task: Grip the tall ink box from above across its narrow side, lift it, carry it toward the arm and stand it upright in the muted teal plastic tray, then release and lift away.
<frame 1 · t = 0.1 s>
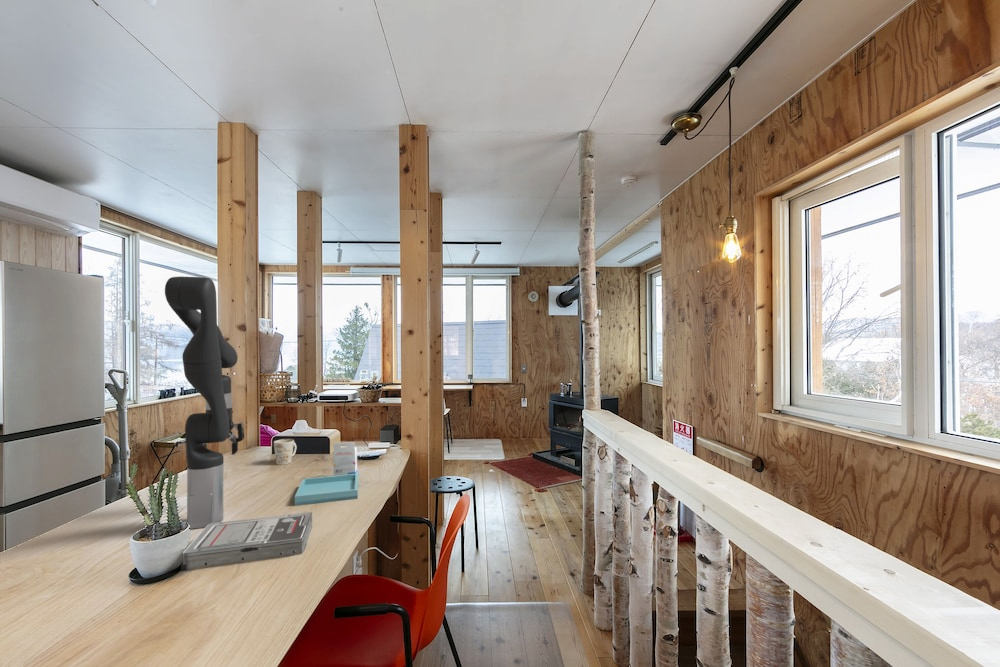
hand: (219, 454, 145), 17 cm above the table, tool pointing down, fingers open, 8 cm apart
hard drive: (253, 548, 117), on the table
ink box: (345, 478, 174), on the table
mug: (286, 462, 200), on the table
tray: (329, 492, 158), on the table
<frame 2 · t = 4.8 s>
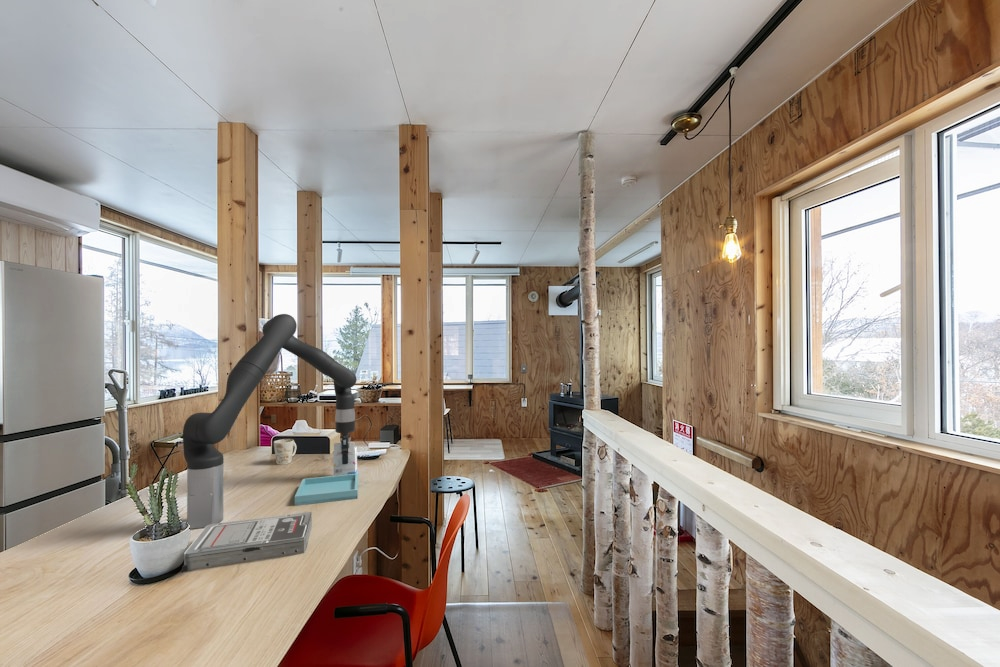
hand: (345, 461, 175), 7 cm above the table, tool pointing down, fingers closed on ink box, 5 cm apart
ink box: (345, 478, 174), on the table, touching gripper
everything else where it was.
when the fingers open (9 cm above the table, at t = 11.2 s): ink box drops 1 cm, resting on tray.
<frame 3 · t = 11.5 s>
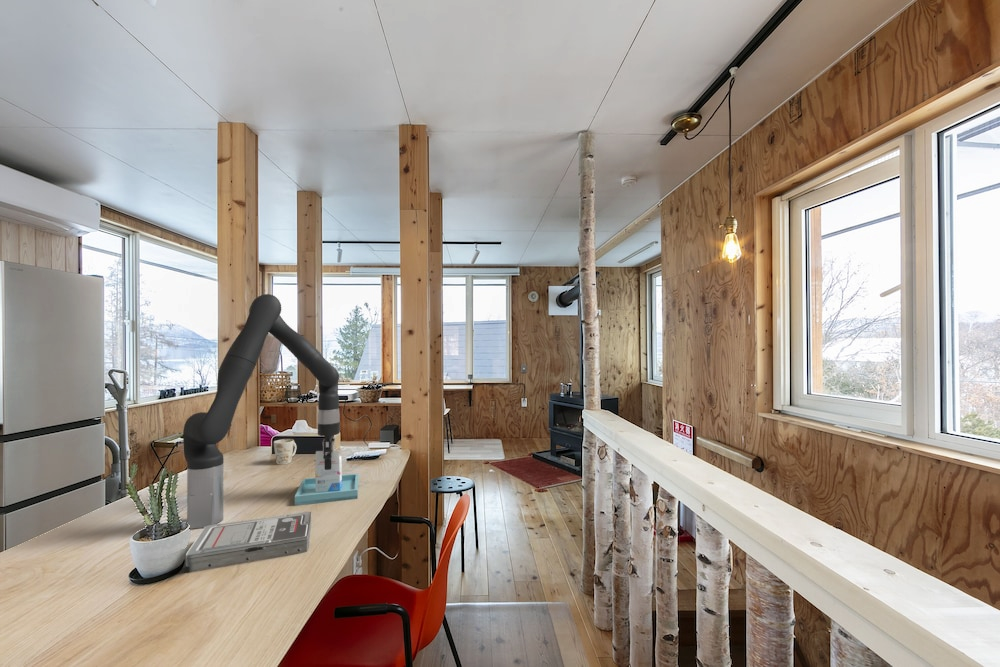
hand: (328, 466, 158), 9 cm above the table, tool pointing down, fingers open, 7 cm apart
ink box: (328, 490, 158), point 1 cm above the table, touching tray
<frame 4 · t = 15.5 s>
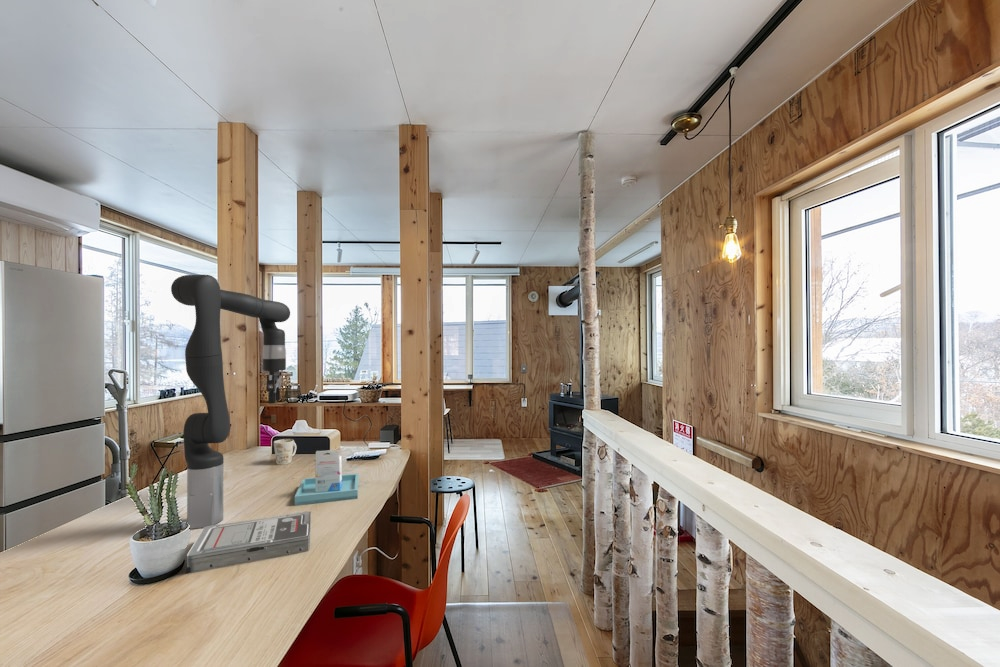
hand: (274, 401, 158), 33 cm above the table, tool pointing down, fingers open, 8 cm apart
at the end: ink box inside the target area on the tray (0.1 cm from its centre), point 0.8 cm above the tray's base; ink box tilted 0°; the gripper is holding nothing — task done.
